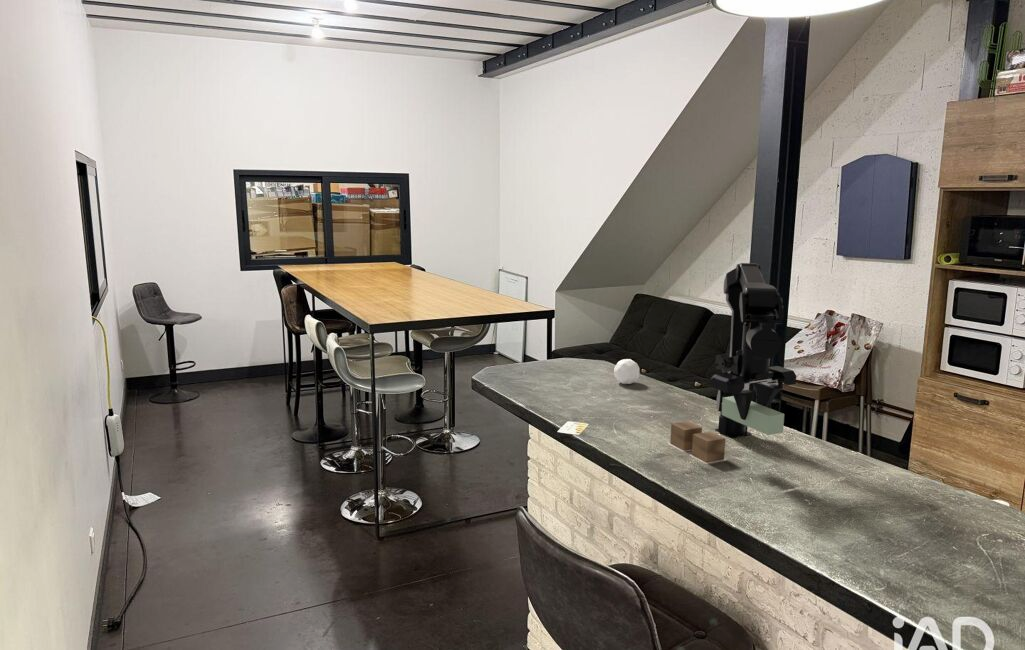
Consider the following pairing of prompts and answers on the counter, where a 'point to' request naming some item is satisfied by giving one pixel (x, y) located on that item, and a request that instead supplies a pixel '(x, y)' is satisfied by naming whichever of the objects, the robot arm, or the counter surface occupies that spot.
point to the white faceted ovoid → (626, 371)
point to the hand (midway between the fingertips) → (751, 418)
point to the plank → (755, 416)
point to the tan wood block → (708, 446)
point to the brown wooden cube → (683, 434)
